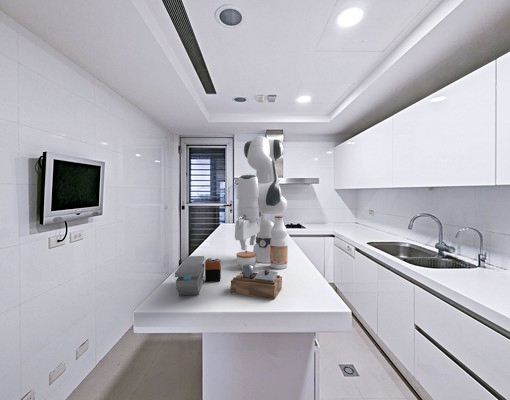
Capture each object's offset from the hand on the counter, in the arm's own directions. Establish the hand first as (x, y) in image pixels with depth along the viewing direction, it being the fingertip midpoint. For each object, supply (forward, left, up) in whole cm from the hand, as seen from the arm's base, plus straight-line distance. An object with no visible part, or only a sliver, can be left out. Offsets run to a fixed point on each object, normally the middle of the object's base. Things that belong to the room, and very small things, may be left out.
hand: (248, 247), depth 104 cm
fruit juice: (-37, +4, -18) cm, 41 cm away
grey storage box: (+8, -22, -18) cm, 29 cm away
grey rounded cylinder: (0, 0, -18) cm, 18 cm away
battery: (-5, -19, -18) cm, 26 cm away
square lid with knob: (0, +8, -12) cm, 15 cm away
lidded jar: (-29, -12, -18) cm, 36 cm away
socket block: (0, +4, -17) cm, 18 cm away
